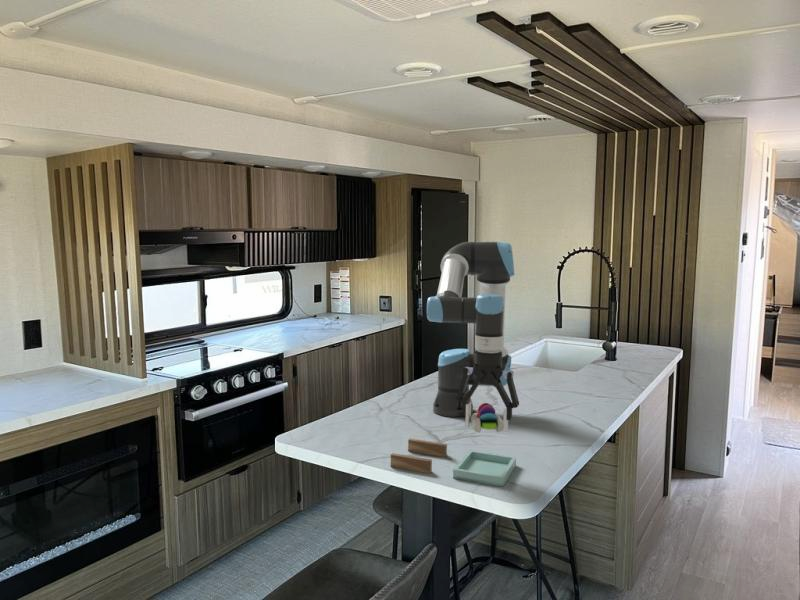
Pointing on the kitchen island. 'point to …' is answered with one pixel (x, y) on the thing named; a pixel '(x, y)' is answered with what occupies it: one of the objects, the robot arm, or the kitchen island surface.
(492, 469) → the tray
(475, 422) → the rainbow disc toy
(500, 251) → the robot arm
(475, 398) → the kitchen island surface
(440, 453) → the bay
